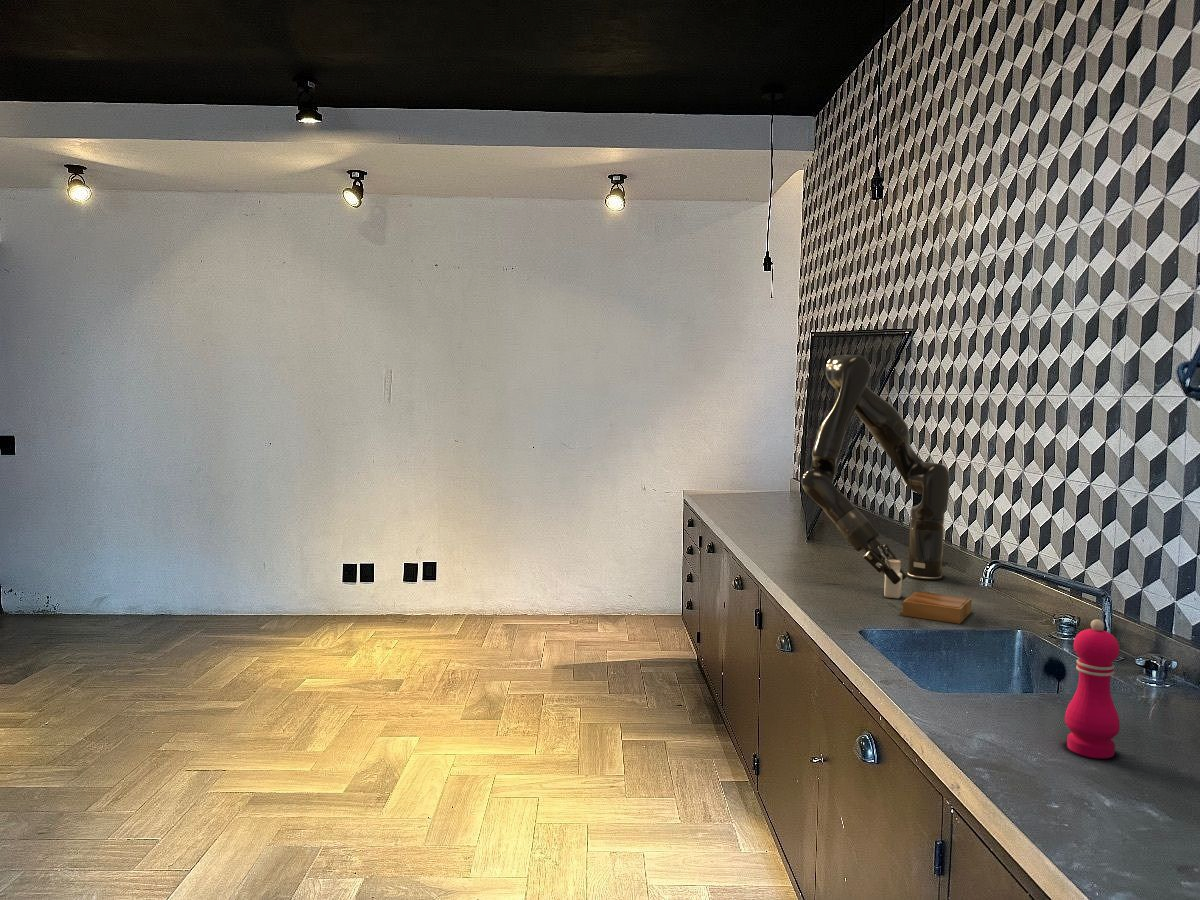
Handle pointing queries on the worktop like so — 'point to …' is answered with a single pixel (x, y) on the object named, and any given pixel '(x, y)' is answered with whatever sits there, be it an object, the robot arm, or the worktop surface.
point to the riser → (937, 607)
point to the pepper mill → (1093, 695)
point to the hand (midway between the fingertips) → (900, 580)
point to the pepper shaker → (890, 588)
